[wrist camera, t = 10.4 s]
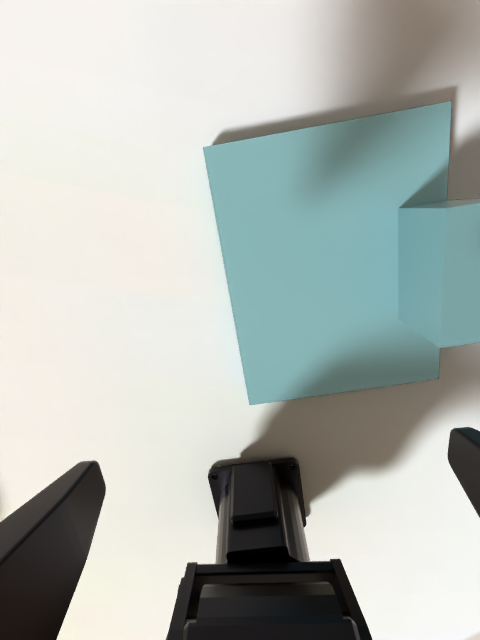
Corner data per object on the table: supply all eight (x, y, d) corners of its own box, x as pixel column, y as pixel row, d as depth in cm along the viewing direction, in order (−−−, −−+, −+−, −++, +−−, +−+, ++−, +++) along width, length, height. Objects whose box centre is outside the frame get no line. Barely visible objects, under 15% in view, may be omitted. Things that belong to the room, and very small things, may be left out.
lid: (424, 366, 21) (486, 420, 16) (249, 391, 22) (251, 451, 16) (431, 110, 16) (524, 63, 11) (206, 152, 17) (190, 127, 12)
